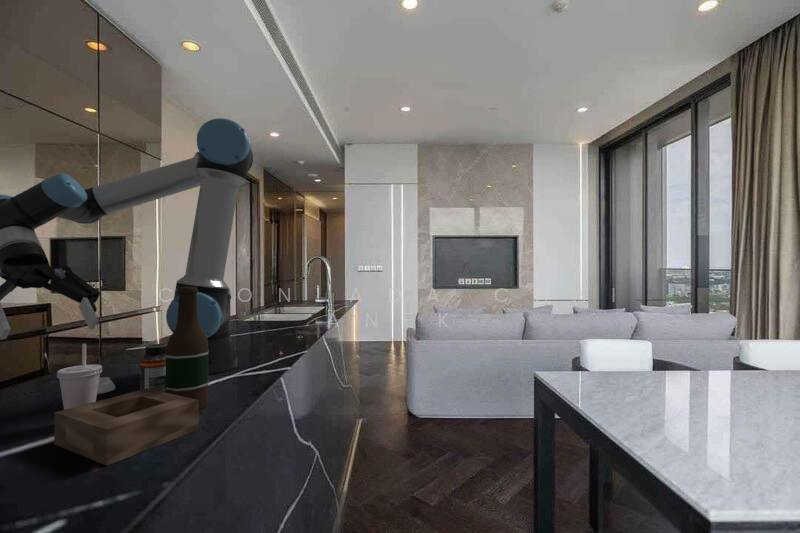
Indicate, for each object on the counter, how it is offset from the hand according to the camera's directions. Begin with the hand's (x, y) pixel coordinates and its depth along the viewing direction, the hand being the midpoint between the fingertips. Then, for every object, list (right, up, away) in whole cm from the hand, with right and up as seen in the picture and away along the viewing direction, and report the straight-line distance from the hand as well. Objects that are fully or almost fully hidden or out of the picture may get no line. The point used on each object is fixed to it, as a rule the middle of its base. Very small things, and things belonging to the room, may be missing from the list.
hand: (53, 329), depth 75 cm
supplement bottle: (+15, -16, +8) cm, 23 cm away
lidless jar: (-1, -17, +13) cm, 21 cm away
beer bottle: (+25, -16, +2) cm, 30 cm away
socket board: (+23, -16, -11) cm, 30 cm away
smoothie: (+9, -16, -5) cm, 19 cm away
